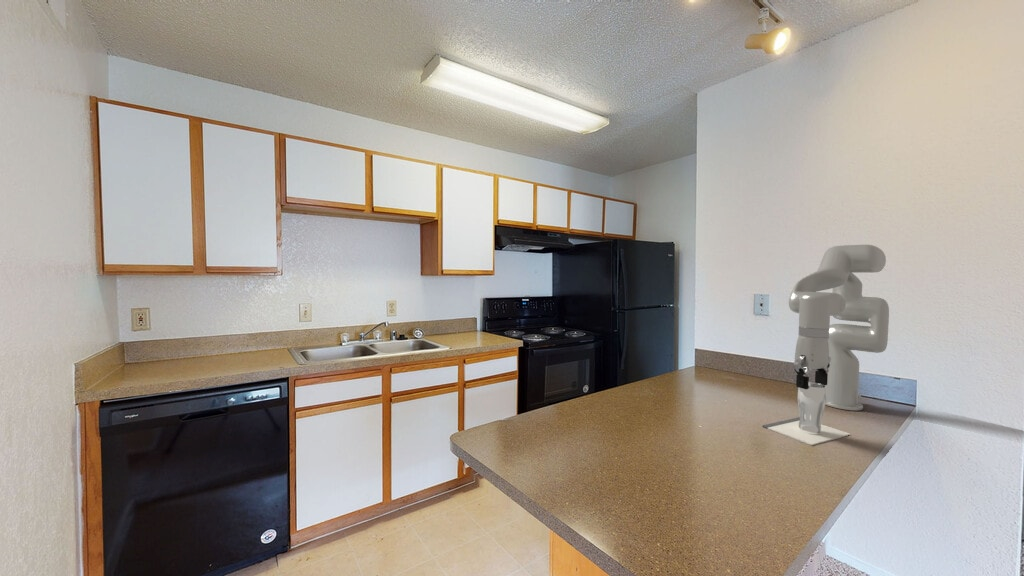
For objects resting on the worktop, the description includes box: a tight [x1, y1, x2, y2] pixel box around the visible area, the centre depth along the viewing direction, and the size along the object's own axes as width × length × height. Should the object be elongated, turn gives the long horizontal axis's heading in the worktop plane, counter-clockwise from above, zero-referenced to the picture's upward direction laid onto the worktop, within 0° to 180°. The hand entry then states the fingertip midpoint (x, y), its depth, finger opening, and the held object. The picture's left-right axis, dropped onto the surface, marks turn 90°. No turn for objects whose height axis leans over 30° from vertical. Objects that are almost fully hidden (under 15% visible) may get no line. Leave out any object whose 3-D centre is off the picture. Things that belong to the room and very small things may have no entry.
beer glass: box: [797, 381, 826, 435], centre depth 118 cm, size 7×7×15 cm
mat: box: [762, 416, 851, 446], centre depth 119 cm, size 20×14×1 cm
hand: (811, 386), depth 118 cm, fingers open, 9 cm apart
